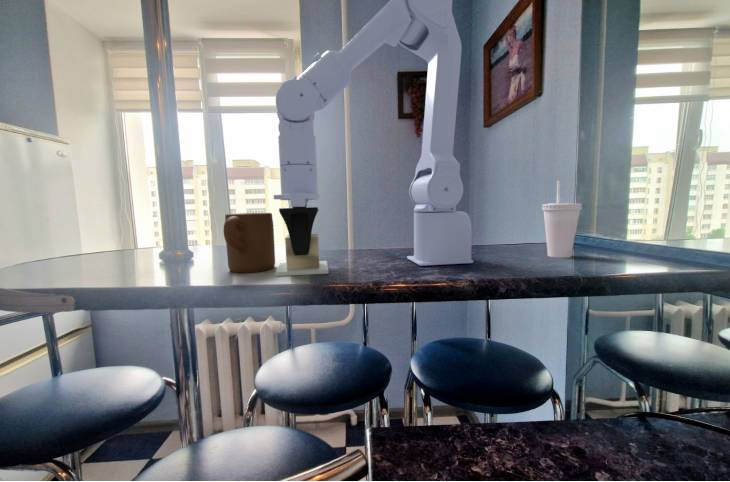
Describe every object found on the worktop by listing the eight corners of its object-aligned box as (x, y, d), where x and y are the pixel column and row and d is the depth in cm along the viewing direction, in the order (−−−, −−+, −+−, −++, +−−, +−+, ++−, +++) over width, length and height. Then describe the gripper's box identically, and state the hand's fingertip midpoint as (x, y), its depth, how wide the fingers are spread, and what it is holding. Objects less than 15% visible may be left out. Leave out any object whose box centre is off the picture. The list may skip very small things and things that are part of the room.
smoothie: (547, 252, 65) (550, 181, 63) (584, 255, 60) (588, 179, 58) (533, 256, 61) (536, 180, 59) (572, 260, 56) (576, 178, 54)
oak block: (318, 262, 56) (317, 233, 55) (319, 268, 51) (318, 236, 50) (289, 264, 55) (287, 235, 54) (286, 269, 50) (285, 237, 50)
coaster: (326, 264, 58) (326, 260, 57) (328, 273, 50) (328, 269, 50) (280, 266, 56) (280, 263, 56) (275, 276, 48) (274, 272, 48)
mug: (256, 279, 46) (252, 214, 45) (204, 280, 47) (199, 215, 46) (281, 264, 58) (278, 212, 57) (240, 265, 59) (236, 213, 58)
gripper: (277, 171, 58) (281, 247, 59) (265, 160, 43) (271, 259, 45) (317, 171, 59) (320, 245, 60) (318, 160, 44) (322, 257, 46)
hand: (302, 251), depth 53 cm, fingers open, 7 cm apart
